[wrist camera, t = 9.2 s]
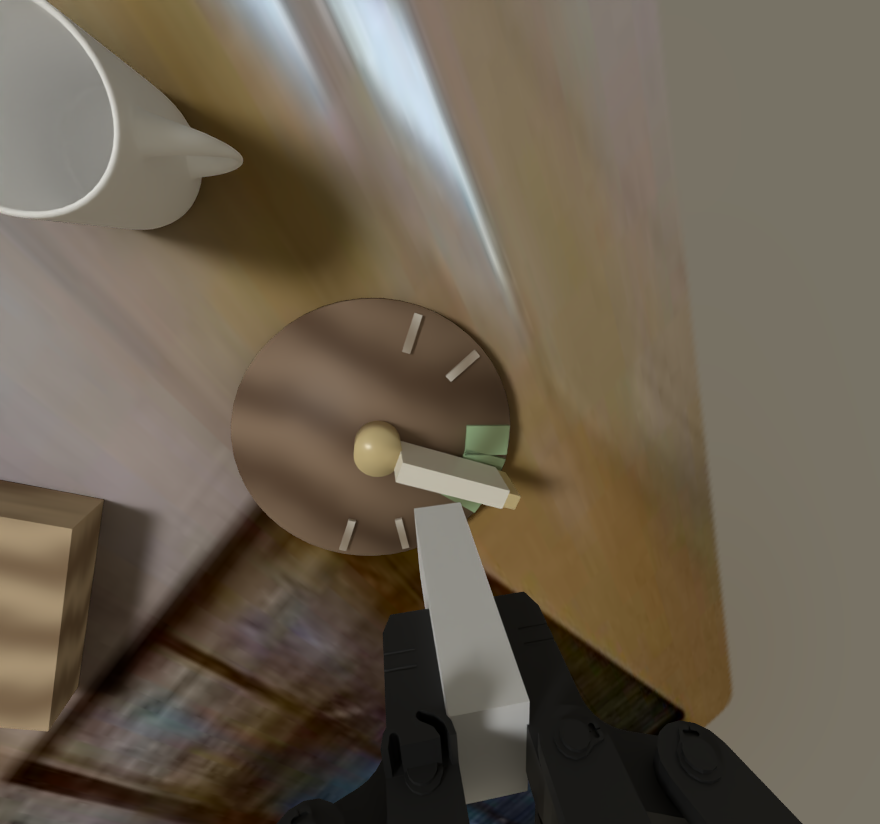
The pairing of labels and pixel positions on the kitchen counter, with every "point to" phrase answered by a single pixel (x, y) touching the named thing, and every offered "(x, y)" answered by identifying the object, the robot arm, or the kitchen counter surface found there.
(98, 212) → the mug
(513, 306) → the kitchen counter surface
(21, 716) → the block
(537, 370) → the kitchen counter surface
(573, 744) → the robot arm
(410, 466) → the white bar with ball
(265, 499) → the dial
